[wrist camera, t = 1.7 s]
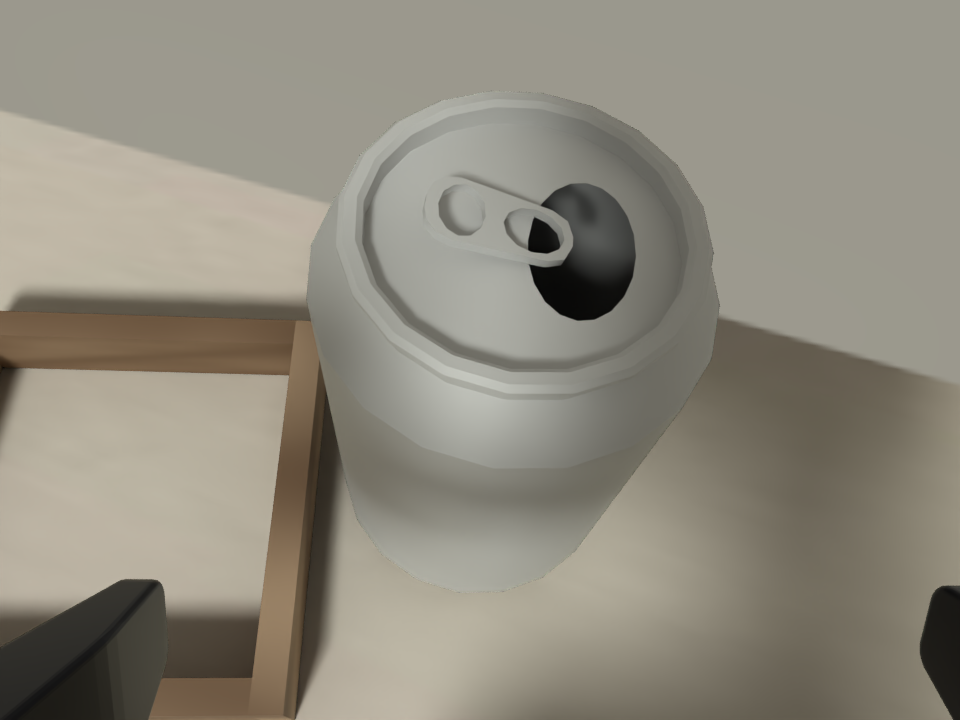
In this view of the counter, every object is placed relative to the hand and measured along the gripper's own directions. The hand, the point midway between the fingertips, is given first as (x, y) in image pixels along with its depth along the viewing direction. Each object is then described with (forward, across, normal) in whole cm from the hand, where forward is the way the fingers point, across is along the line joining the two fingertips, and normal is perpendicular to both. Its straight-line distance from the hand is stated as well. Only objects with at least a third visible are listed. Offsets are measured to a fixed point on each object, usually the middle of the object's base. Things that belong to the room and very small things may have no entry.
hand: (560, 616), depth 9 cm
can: (+14, 0, +4) cm, 14 cm away
